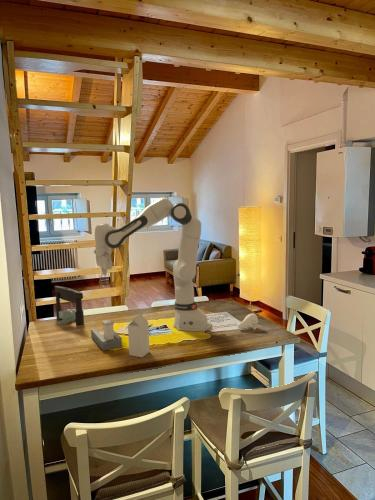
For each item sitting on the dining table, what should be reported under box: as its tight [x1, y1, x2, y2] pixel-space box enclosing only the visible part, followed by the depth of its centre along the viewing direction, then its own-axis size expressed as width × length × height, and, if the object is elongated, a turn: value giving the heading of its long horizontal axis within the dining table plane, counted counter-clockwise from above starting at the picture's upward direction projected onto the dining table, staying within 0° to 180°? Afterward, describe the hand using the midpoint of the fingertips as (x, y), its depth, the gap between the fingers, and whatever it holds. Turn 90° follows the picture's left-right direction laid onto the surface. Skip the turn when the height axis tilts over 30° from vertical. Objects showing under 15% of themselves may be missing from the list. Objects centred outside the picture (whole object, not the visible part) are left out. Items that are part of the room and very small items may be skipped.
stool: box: [54, 285, 85, 326], centre depth 224 cm, size 16×21×33 cm
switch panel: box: [90, 328, 123, 351], centre depth 189 cm, size 22×10×4 cm, turn 29°
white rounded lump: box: [237, 313, 259, 331], centre depth 202 cm, size 6×8×12 cm
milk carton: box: [127, 313, 150, 358], centre depth 171 cm, size 7×7×19 cm
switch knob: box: [101, 318, 115, 341], centre depth 183 cm, size 5×5×9 cm
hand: (104, 274), depth 210 cm, fingers closed
